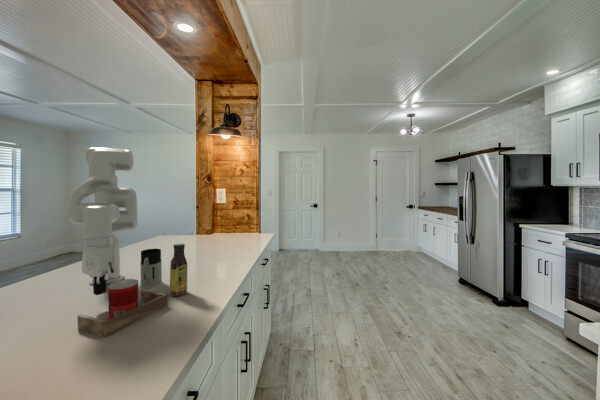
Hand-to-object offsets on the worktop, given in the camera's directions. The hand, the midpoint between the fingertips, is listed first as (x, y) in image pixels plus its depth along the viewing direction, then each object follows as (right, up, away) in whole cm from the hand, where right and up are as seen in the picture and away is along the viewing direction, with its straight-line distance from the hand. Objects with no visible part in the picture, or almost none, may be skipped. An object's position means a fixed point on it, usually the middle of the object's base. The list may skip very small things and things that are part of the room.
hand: (100, 293), depth 88 cm
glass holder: (+6, -5, +20) cm, 21 cm away
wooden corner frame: (+13, -6, -5) cm, 15 cm away
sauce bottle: (+21, -5, +13) cm, 25 cm away
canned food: (+12, -6, -5) cm, 14 cm away
